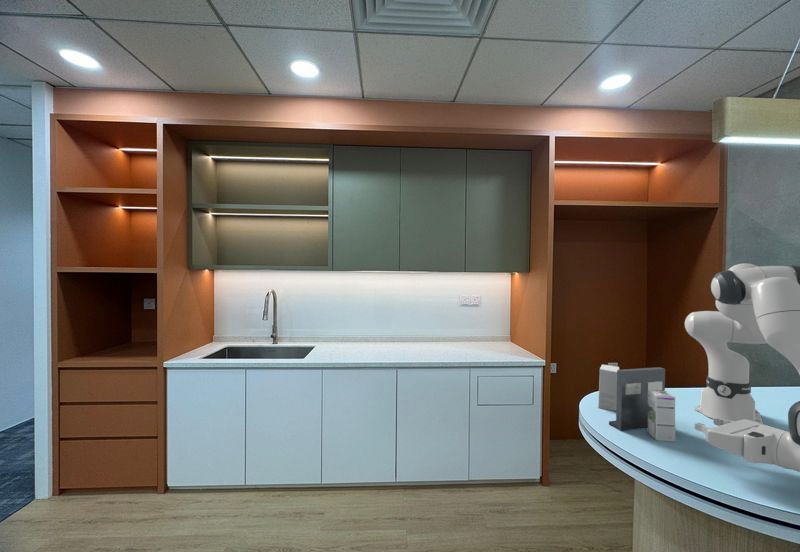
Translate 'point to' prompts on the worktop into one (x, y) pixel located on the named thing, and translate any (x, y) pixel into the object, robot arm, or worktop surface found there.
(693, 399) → the worktop surface
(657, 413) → the syrup box
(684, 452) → the worktop surface
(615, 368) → the skincare box
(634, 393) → the label panel
